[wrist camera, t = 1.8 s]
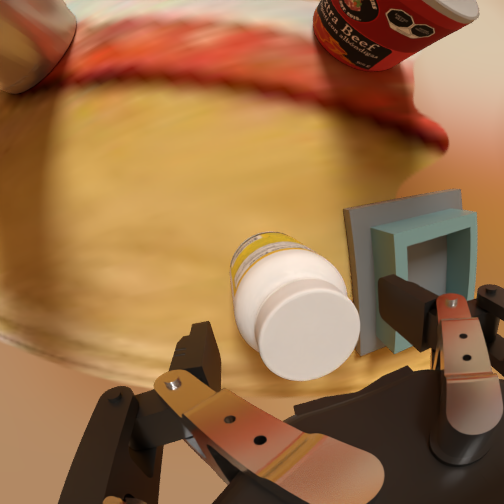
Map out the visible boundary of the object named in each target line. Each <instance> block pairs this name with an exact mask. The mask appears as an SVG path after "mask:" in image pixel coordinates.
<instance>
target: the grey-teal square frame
mask: <svg viewBox="0 0 504 504" xmlns="http://www.w3.org/2000/svg"><path fill="white" fill-rule="evenodd" d="M343 212H344V218H345V225H346V232H347V240H348V248H349V257H350V266H351V276H352V288H353V301H354V305H355V307H356V309H357V311H358V314H359V318H360V333H359V338H358V341H357V344H356V351H357V352H358V354H359V355H360V356H362V355H365V354H367V353H370V352H373V351H375V350H378V349H380V348H383V347H385V346H387V347H388V348H389V349H390V350H391V351H392V352H393V353H394V354H396V353H398V352H400V351H403V350H405V349H407V348H409V347H411V346H413V345H411V344H410V343H409V342H408V341H407V340H406V339H405V338H403V337H402V336H401V335H400V334H399V333H398V332H396V331H395V330H394V329H393V328H392V327H391V326H389V325H388V324H387V323H386V322H385V321H384V320H383V319H382V318H381V316H380V313H379V303H378V280H379V278H381V277H385V276H388V275H391V274H395V275H396V276H398V277H400V278H402V279H404V280H406V281H410V282H414V283H416V284H418V285H420V287H423V288H425V290H426V289H427V290H429V291H431V292H433V293H435V294H436V295H438V296H441V295H443V294H448V293H455V294H459V295H462V296H463V297H465V299H466V301H468V300H472V299H474V290H475V279H476V264H477V212H473V211H466V210H462V199H461V190H460V189H449V190H444V191H438V192H432V193H426V194H420V195H415V196H410V197H404V198H398V199H393V200H387V201H382V202H377V203H372V204H367V205H361V206H356V207H351V208H346V209H343Z"/></svg>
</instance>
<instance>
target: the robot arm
mask: <svg viewBox="0 0 504 504" xmlns="http://www.w3.org/2000/svg"><path fill="white" fill-rule="evenodd" d="M75 30H76V18H75V16H74V14H73V13H72V12H71V11H70V10H69V9H68V8H67V6H66V3H65V2H64V1H63V0H0V90H3V91H6V92H8V93H11V94H18V93H22V92H25V91H26V90H28V89H30V88H32V87H33V86H35V85H36V84H37V83H39V82H40V81H41V80H42V79H43V78H44V77H45V76H46V75H47V74H48V73H49V72H50V71H51V70H52V69H53V68H54V67H55V66H56V64H57V63H58V62H59V60H60V59H61V58H62V56H63V55H64V53H65V52H66V50H67V48H68V47H69V45H70V43H71V41H72V39H73V36H74V33H75ZM378 303H379V313H380V316H381V318H382V319H383V320H384V321H385V322H386V323H387V324H388V325H389V326H391V327H392V328H393V329H394V330H395V331H396V332H398V333H399V334H400V335H401V336H402V337H403V338H405V339H406V340H407V341H408V342H409V343H410V344H411V345H413V346H414V347H415V348H416V349H417V350H418V351H419V352H423V351H425V350H427V349H429V348H431V355H430V370H419V371H414V372H413V371H412V370H411V368H410V367H409V366H408V365H407V366H405V367H403V368H400V369H398V370H396V371H394V372H391V373H389V374H387V375H384V376H382V377H381V378H379V379H378V380H376V381H375V382H373V383H372V384H370V385H369V386H367V387H365V388H364V389H362V390H360V391H358V392H355V393H349V394H343V395H336V396H329V397H323V398H320V399H317V400H313V401H310V402H306V403H302V404H299V405H295V406H294V411H295V415H293V416H291V417H289V418H288V419H286V420H284V421H281V420H279V419H277V418H275V417H273V416H271V415H270V414H268V413H266V412H264V411H263V410H261V409H259V408H257V407H256V406H254V405H252V404H250V403H249V402H247V401H246V400H244V399H242V398H241V397H239V396H237V395H236V394H234V393H233V392H231V391H229V390H228V389H225V388H224V389H221V358H220V353H219V349H218V346H217V343H216V340H215V337H214V334H213V330H212V327H211V324H210V322H209V321H206V322H201V323H195V324H192V328H191V332H190V335H189V336H183V337H182V338H181V340H180V341H179V342H178V343H177V345H176V348H175V352H174V356H173V358H172V362H171V365H170V368H169V372H166V373H164V374H162V375H161V376H159V377H158V378H157V379H156V381H155V382H154V389H153V390H151V391H148V392H145V393H142V394H138V395H134V393H133V391H132V390H131V389H130V388H128V387H126V386H118V387H114V388H112V389H109V390H108V391H106V392H105V393H104V394H102V396H101V397H100V399H99V401H98V403H97V405H96V407H95V409H94V412H93V414H92V416H91V418H90V421H89V423H88V425H87V428H86V430H85V432H84V435H83V437H82V439H81V442H80V444H79V447H78V449H77V452H76V454H75V457H74V459H73V462H72V465H71V467H70V470H69V473H68V476H67V478H66V481H65V484H64V487H63V490H62V492H61V495H60V499H59V502H58V504H158V496H159V483H160V473H161V464H162V454H163V446H164V445H165V444H168V443H171V442H175V441H178V440H181V439H183V440H184V441H185V442H186V443H187V444H188V445H189V446H190V447H191V448H192V449H193V450H194V451H195V452H196V453H197V454H198V455H199V456H200V457H201V458H202V459H203V460H204V461H205V462H206V463H207V464H208V465H209V466H210V467H211V468H212V469H213V470H214V471H215V472H216V473H217V475H218V476H219V477H220V478H221V479H222V480H223V481H224V482H225V483H226V484H227V485H228V486H227V487H226V488H225V489H224V491H223V492H222V493H221V494H220V495H219V496H218V497H217V499H216V500H215V501H214V502H213V503H212V504H504V380H502V379H498V376H497V374H496V373H493V372H492V369H491V366H492V367H493V368H494V369H496V370H497V371H498V372H499V373H500V374H502V376H504V338H502V337H501V336H500V335H498V334H497V330H498V325H499V321H500V319H501V320H503V321H504V289H503V288H501V287H499V286H497V285H490V284H489V285H483V286H481V287H479V288H478V291H477V298H476V299H472V300H468V301H466V299H465V297H463V296H462V295H459V294H455V293H448V294H443V295H441V296H438V295H436V294H435V293H433V292H431V291H429V290H427V289H426V290H425V288H423V287H420V285H418V284H416V283H414V282H410V281H406V280H404V279H402V278H400V277H398V276H396V275H395V274H391V275H388V276H385V277H381V278H379V280H378Z"/></svg>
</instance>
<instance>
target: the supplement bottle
mask: <svg viewBox="0 0 504 504" xmlns="http://www.w3.org/2000/svg"><path fill="white" fill-rule="evenodd" d="M230 280H231V288H232V297H233V305H234V314H235V320H236V324H237V327H238V329H239V332H240V334H241V335H242V337H243V338H244V340H245V341H246V342H247V343H248V344H249V345H250V346H251V347H252V348H253V349H254V350H256V351H258V352H259V353H260V356H261V358H262V360H263V362H264V364H265V365H266V366H267V367H268V369H269V370H271V371H272V372H273V373H274V374H276V375H278V376H279V377H282V378H284V379H288V380H293V381H308V380H313V379H317V378H320V377H323V376H325V375H327V374H329V373H331V372H332V371H334V370H335V369H337V368H338V367H339V366H340V365H342V364H343V363H344V362H345V361H346V360H347V358H348V357H349V356H350V355H351V353H352V351H353V350H354V348H355V346H356V344H357V341H358V338H359V333H360V318H359V314H358V311H357V309H356V307H355V305H354V304H353V302H352V301H351V300H350V299H349V298H348V297H347V290H346V286H345V283H344V281H343V279H342V277H341V275H340V273H339V272H338V270H337V269H336V268H335V267H334V266H333V265H332V264H331V263H330V262H329V261H328V260H326V259H325V258H324V257H322V256H321V255H319V254H318V253H316V252H314V251H313V250H311V249H310V248H308V247H306V246H305V245H303V244H302V243H300V242H298V241H297V240H295V239H294V238H292V237H290V236H288V235H285V234H283V233H279V232H262V233H258V234H256V235H253V236H251V237H249V238H248V239H247V240H245V241H244V242H243V243H242V244H241V245H240V246H239V247H238V249H237V250H236V252H235V253H234V255H233V258H232V261H231V265H230Z"/></svg>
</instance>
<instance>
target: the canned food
mask: <svg viewBox="0 0 504 504" xmlns="http://www.w3.org/2000/svg"><path fill="white" fill-rule="evenodd" d="M478 17H479V8H478V5H477V2H476V0H321V1H320V3H319V5H318V6H317V8H316V10H315V12H314V16H313V28H314V32H315V35H316V37H317V39H318V41H319V42H320V44H321V45H322V46H323V47H324V49H325V50H326V51H328V52H329V53H330V54H331V55H332V56H333V57H335V58H336V59H337V60H339V61H340V62H342V63H344V64H346V65H348V66H350V67H353V68H355V69H359V70H362V71H370V72H373V71H382V70H387V69H390V68H392V67H393V66H395V65H397V64H398V63H400V62H402V61H403V60H405V59H407V58H408V57H410V56H412V55H413V54H415V53H417V52H418V51H420V50H422V49H424V48H425V47H427V46H429V45H431V44H433V43H434V42H436V41H438V40H440V39H442V38H443V37H446V36H447V35H449V34H451V33H453V32H455V31H457V30H459V29H461V28H462V27H464V26H466V25H468V24H470V23H472V22H473V21H474V20H476V19H477V18H478Z"/></svg>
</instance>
